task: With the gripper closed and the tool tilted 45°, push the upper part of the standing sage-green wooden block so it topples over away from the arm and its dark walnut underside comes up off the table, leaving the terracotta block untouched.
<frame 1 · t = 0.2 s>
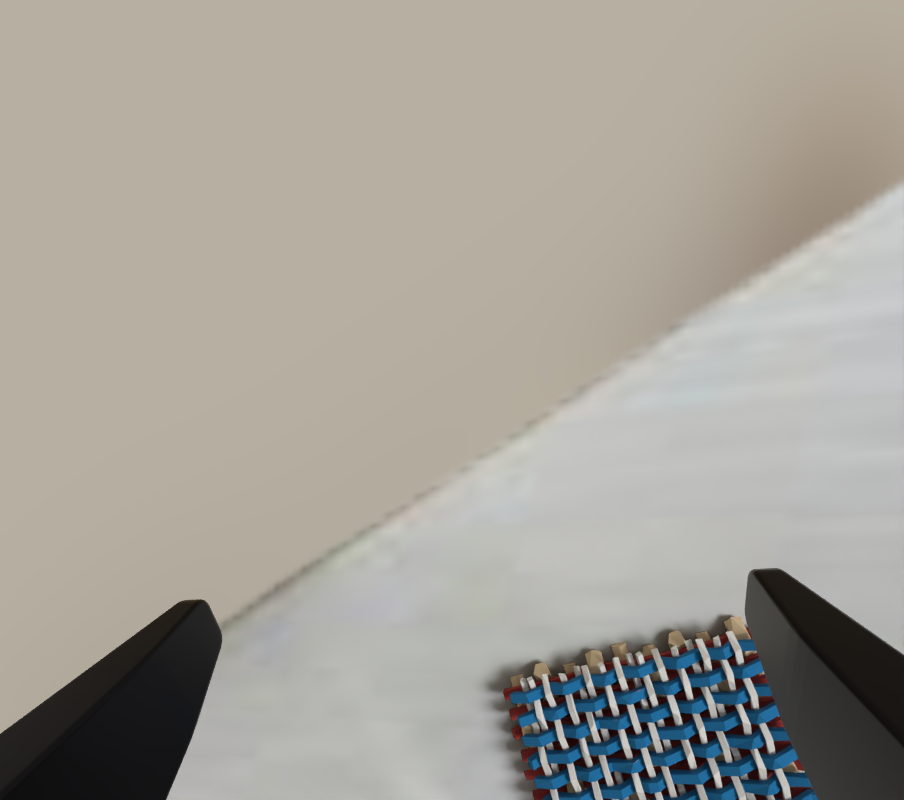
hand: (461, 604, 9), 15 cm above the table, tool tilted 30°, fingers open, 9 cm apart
woven mat: (658, 763, 22), on the table
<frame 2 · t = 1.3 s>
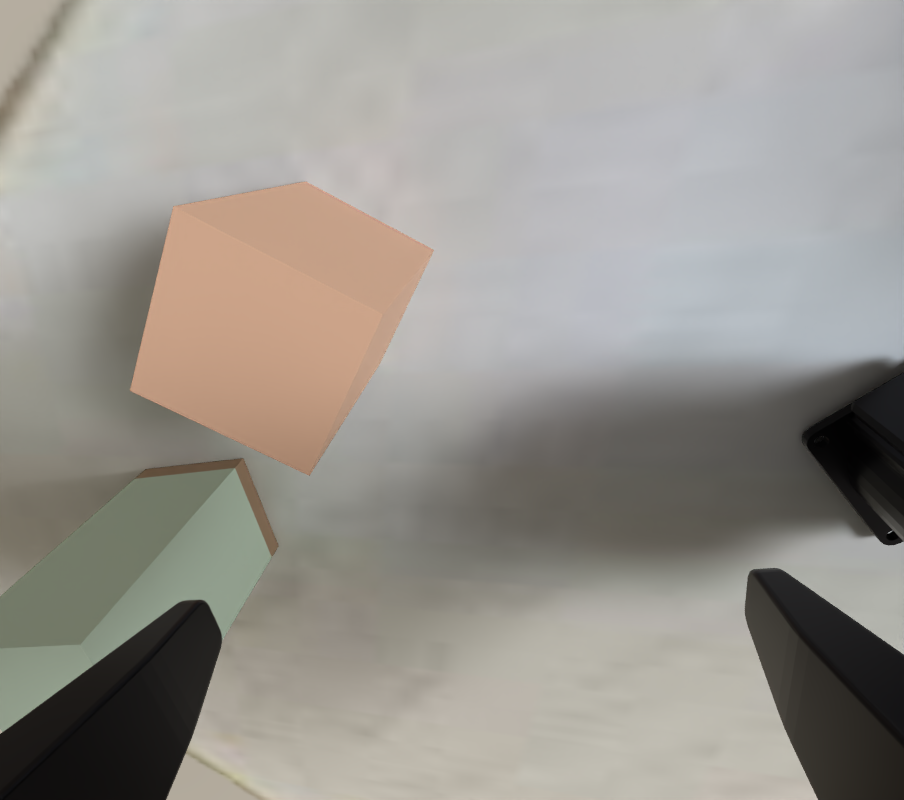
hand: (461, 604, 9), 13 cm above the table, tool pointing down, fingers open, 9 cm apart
sage block: (213, 508, 26), on the table
terracotta block: (345, 278, 20), on the table
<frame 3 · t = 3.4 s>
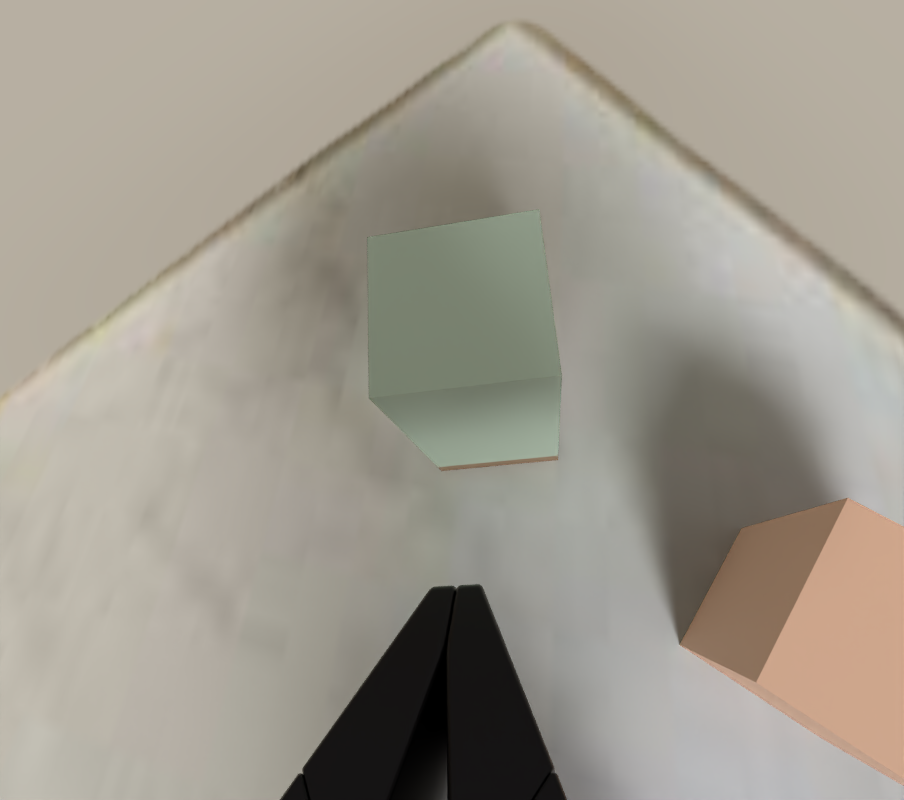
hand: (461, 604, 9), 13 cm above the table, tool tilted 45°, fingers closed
sage block: (493, 410, 24), on the table
terracotta block: (778, 626, 20), on the table
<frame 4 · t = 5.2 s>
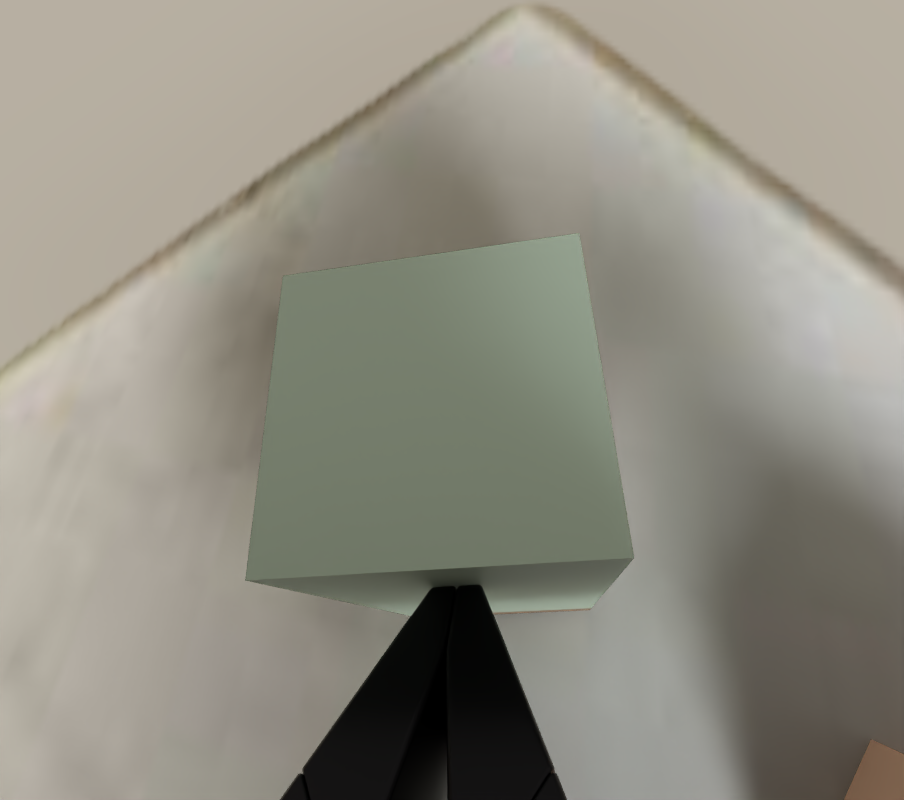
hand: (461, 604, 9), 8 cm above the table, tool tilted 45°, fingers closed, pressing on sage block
sage block: (496, 527, 17), on the table, touching gripper
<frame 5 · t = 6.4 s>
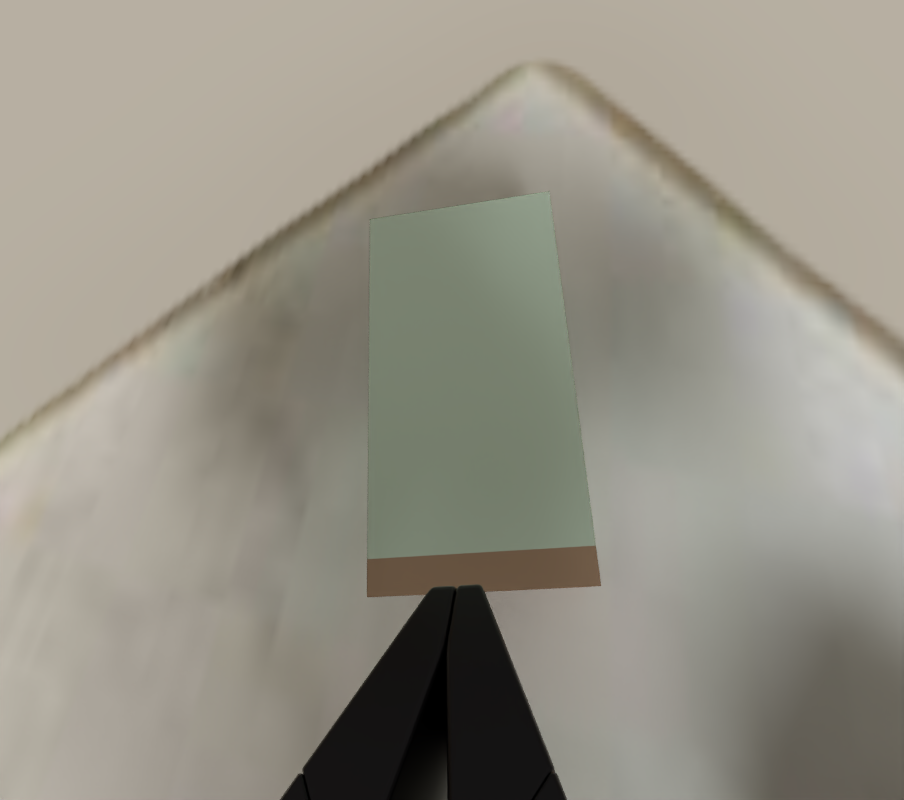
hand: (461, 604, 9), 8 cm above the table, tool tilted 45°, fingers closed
sage block: (492, 591, 14), point 2 cm above the table, tilted 90°
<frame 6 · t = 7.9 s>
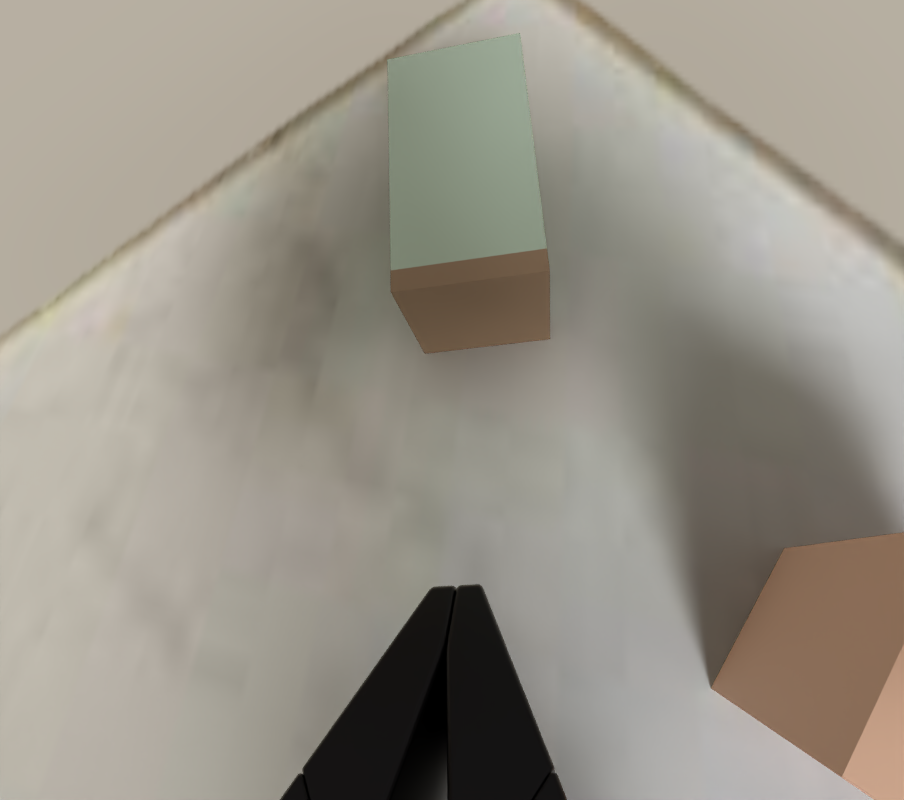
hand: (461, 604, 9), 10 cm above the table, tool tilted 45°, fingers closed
sage block: (478, 318, 19), point 2 cm above the table, tilted 90°
terracotta block: (830, 667, 16), on the table
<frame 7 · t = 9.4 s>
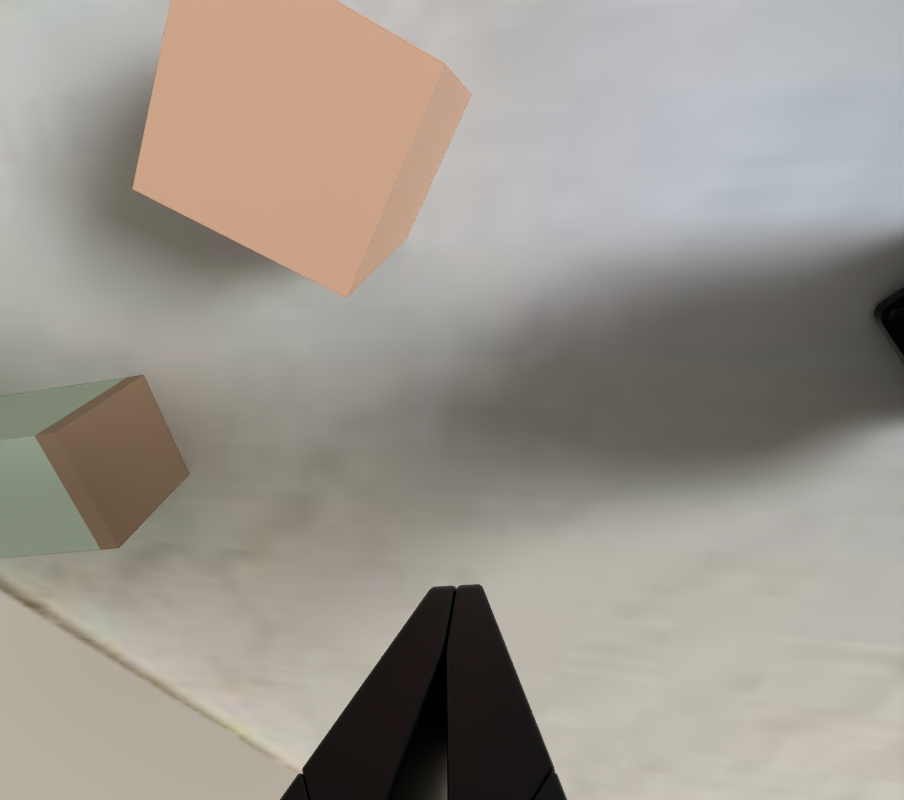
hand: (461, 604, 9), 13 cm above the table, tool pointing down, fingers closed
sage block: (132, 456, 22), point 2 cm above the table, tilted 90°
terracotta block: (370, 133, 18), on the table
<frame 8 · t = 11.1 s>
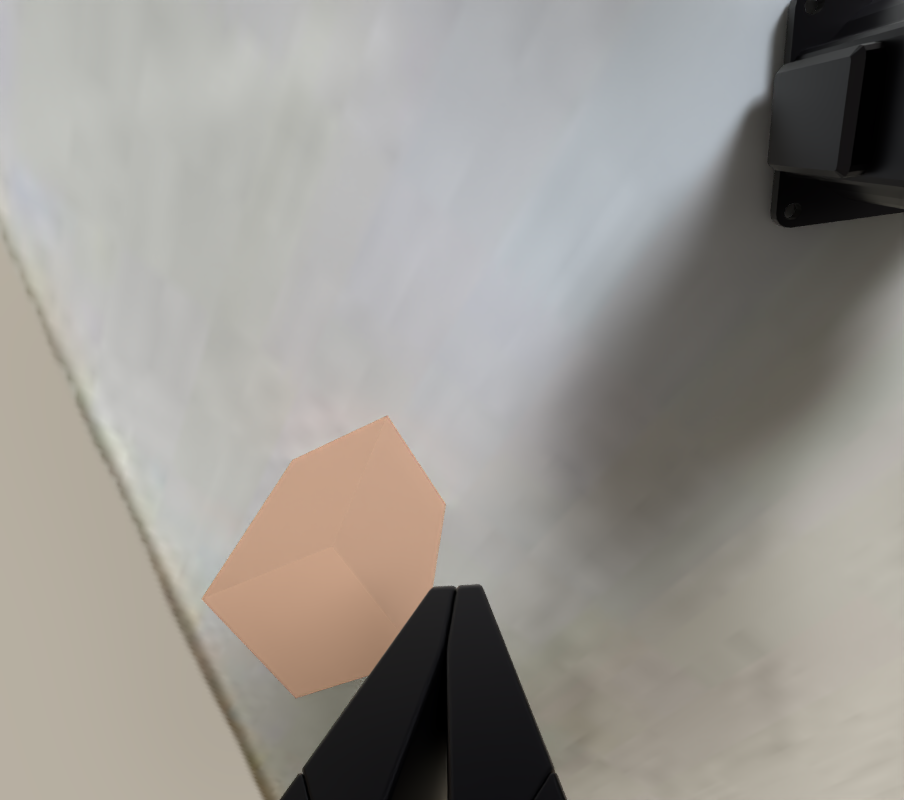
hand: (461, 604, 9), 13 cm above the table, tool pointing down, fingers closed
terracotta block: (369, 482, 24), on the table
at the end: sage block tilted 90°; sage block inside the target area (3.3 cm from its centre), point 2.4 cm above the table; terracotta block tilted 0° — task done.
